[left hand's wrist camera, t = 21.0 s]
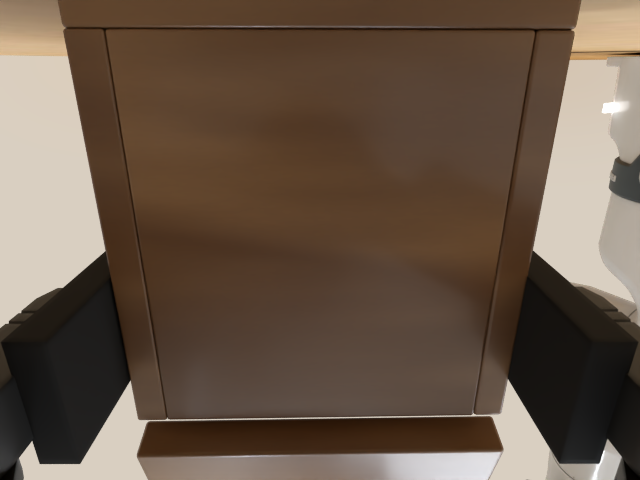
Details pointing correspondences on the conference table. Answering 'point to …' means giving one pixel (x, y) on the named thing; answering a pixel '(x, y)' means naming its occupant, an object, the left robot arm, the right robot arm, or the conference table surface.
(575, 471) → the right robot arm
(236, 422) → the lid
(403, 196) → the chest
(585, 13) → the conference table surface
